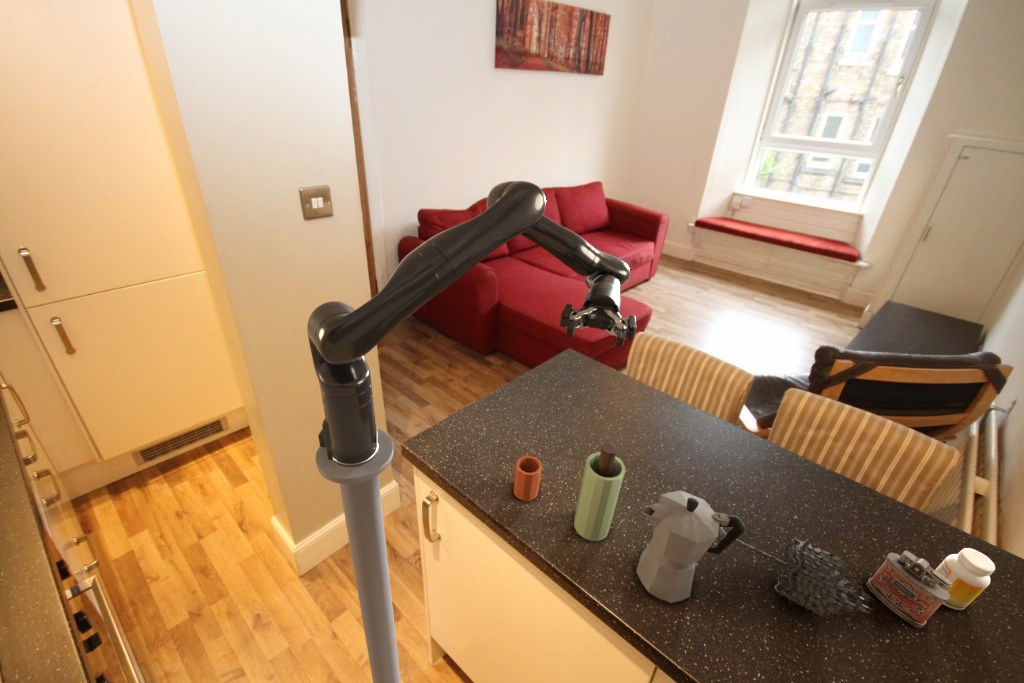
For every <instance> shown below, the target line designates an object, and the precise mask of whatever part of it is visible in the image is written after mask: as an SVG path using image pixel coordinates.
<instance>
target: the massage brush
mask: <svg viewBox="0 0 1024 683" xmlns="http://www.w3.org/2000/svg"><path fill="white" fill-rule="evenodd" d="M727 533H728V532H726V531H725V529H724V527H719V531H718V537H717V538H716V540H720V539H721V538H723V537H724V536H726V534H727ZM792 538H793V542H789V543H787V544H786V546H784V547H785V548H784V555H783V556H782V560H780V559H778V558H777V557H776V556H775V555H770V554H769V553H766V552H764V551H762V550H761V549H758V547H754V546H753V545H750V544H748V543H745V542H743V541H742V540H741V539H739V538H737V539H736V540H735V541H734V542H733V543H736V544H737V545H739V546H740V547H743V548H745V549H748V550H749V551H751V552H754V553H755V554H757V555H759V556H761V557H763V558H764V559H768V560H770V561H773V562H774V563H775V564H776V565H778V566H777V571H776V572H777V575H778V576H777V584H775V585H774V590H775V591H776V592H777V593H778V594H780V595H781V596H783V597H784V598H786V599H788V601H790V602H794V603H795V604H796V605H799V606H801V607H804V608H805V609H806V610H809V611H810V612H811V611H812V613H814V614H816V615H818V616H820V617H821V618H826V619H827V620H828V619H829V617H828V616H829V615H830V614H832V615H834V614H836V615H838V616H839V615H842V614H843V613H844V612H848V613H851V612H853V613H854V614H855V613H856V612H858V611H861V612H862V613H868V614H871V612H870V611H868V610H867V609H870V610H871V611H873V608H872V607H871V608H870V607H869V606H867V605H865V604H863V602H862V601H866V602H867V603H868V602H869V600H870V599H871V600H872V601H875V599H874V598H872V597H871V596H870V595H869V594H867V593H866V592H865V591H864V590H863V586H860V584H859V583H858V582H856V581H855V579H854V575H853V572H851V571H849V569H848V567H849V564H848V563H847V562H845V560H844V559H841V558H840V557H839V556H838V555H836V554H832V553H830V552H829V551H827V550H824V549H821V548H820V547H818V546H814V545H812V544H811V543H809V542H806V541H805V540H802V539H798V538H795V537H792ZM716 540H715V541H716ZM795 545H796V546H795ZM789 549H790V550H789ZM845 565H846V566H845ZM848 574H850V575H851V577H852V578H851V577H850V576H849V575H848ZM850 579H851V580H850ZM779 586H781V587H779ZM778 588H779V589H778ZM860 588H861V589H860ZM847 594H849V595H852V597H853V598H856V599H857V600H855V599H853V598H852V597H849V595H847ZM858 598H859V599H858ZM860 599H861V600H862V601H861V600H860ZM854 602H855V603H854ZM866 608H867V609H866ZM840 610H843V611H841V612H840ZM828 612H829V613H828Z"/></svg>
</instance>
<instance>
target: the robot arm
mask: <svg viewBox="0 0 1024 683" xmlns="http://www.w3.org/2000/svg"><path fill="white" fill-rule="evenodd" d="M546 204H547V200H546V195H545V192H544V191H543V189H542V188H540V186H538V185H537V184H535V183H533V182H530V181H525V180H509V181H503V182H500V183H498V184H496V185H495V186H493V187H492V188H491V189H490V191H489V193H488V195H487V199H486V209H485V210H484V211H483V212H482V213H480V214H479V215H477V216H475V217H473V218H471V219H469V220H467V221H464V222H462V223H459V224H457V225H454V226H452V227H450V228H448V229H445V230H443V231H441V232H439V233H437V234H435V235H433V236H432V237H430V238H428V239H427V240H426V241H424V242H422V243H421V244H420V245H418V246H417V247H416V248H414V249H413V250H411V251H410V252H409V253H408V254H407V255H405V256H404V258H402V260H401V261H400V262H399V264H398V265H397V266H396V268H395V269H394V271H393V273H392V274H391V276H390V277H389V279H388V280H387V282H386V283H385V285H384V286H383V288H382V289H381V290H380V291H379V292H378V293H377V294H376V295H374V296H373V297H372V298H370V299H368V301H366V302H365V303H363V304H362V305H360V306H359V307H357V308H355V309H354V307H352V306H351V305H350V304H348V303H346V302H343V301H338V300H332V301H326V302H323V303H321V304H320V305H318V306H316V308H314V310H312V312H311V313H310V315H309V317H308V319H307V325H306V332H307V338H308V344H309V349H310V353H311V359H312V363H313V364H312V365H313V368H314V372H315V375H316V377H317V381H318V385H319V390H320V394H321V395H320V396H321V400H322V405H323V411H324V412H323V413H324V417H325V418H324V419H323V420H322V423H321V427H322V429H321V430H320V432H319V433H318V435H317V437H318V442H319V447H326V450H327V455H328V460H333V461H334V462H335V463H337V464H338V465H341V466H345V467H355V466H360V465H363V464H365V463H367V462H369V461H370V460H372V459H373V458H374V457H375V456H376V454H377V452H378V441H377V437H378V432H377V433H376V428H377V423H376V415H375V404H374V396H373V394H374V393H373V386H372V376H371V371H370V367H369V365H368V362H367V360H366V357H365V356H366V355H367V354H368V353H370V352H371V351H372V350H373V349H374V348H375V347H376V346H377V345H378V344H380V343H381V342H382V341H383V340H384V339H385V338H387V336H388V335H389V334H390V333H391V332H392V331H393V330H394V329H395V328H397V327H398V326H399V325H400V324H401V323H402V322H404V321H405V320H406V319H407V318H409V317H411V315H413V314H414V313H415V312H417V311H418V310H419V309H420V308H422V307H423V306H425V305H426V304H427V303H428V302H429V301H431V300H432V299H434V298H435V297H436V296H438V295H440V293H443V291H445V290H446V289H447V288H449V287H450V286H452V285H453V284H454V283H455V282H457V281H458V280H459V279H461V278H462V277H463V276H464V275H465V274H466V273H468V272H470V271H471V270H472V269H473V268H474V267H476V266H477V265H479V264H480V263H482V261H484V260H485V259H486V258H487V257H489V256H490V255H491V254H493V252H495V251H496V250H497V249H499V248H501V247H502V246H504V245H505V244H507V243H508V242H510V241H512V240H514V239H515V238H517V237H519V236H520V235H521V236H522V237H524V238H525V239H527V240H530V241H531V242H533V243H534V244H536V245H537V246H539V247H540V248H542V249H543V250H544V251H546V252H548V253H549V254H550V255H552V256H553V257H554V258H556V259H557V260H558V261H560V262H561V263H562V264H564V265H565V266H566V267H567V268H569V269H570V270H571V271H573V272H574V273H576V274H577V275H579V276H580V277H586V279H585V284H586V287H587V289H588V290H587V292H586V294H585V297H584V299H583V300H584V301H583V304H582V307H580V308H579V309H578V308H574V307H573V304H570V303H567V304H566V305H564V308H563V310H562V312H561V313H560V319H559V327H560V328H565V329H566V330H565V335H566V336H568V339H573V338H574V335H575V331H576V330H580V331H581V330H585V329H588V328H590V329H591V328H592V329H598V330H602V331H605V332H607V333H608V335H610V336H614V337H616V338H615V348H620V346H624V344H625V340H626V339H627V340H630V341H634V340H635V335H636V331H637V319H636V318H637V317H636V315H633V314H630V315H629V316H628V317H622V315H621V314H620V310H621V303H622V302H621V301H622V298H621V293H622V286H624V285H625V284H626V283H627V282H628V281H629V280H630V277H631V270H630V267H629V265H628V264H627V263H626V262H625V260H623V259H621V258H620V257H618V256H615V255H613V254H611V253H607V252H604V251H601V250H600V249H598V248H596V247H595V246H593V245H592V244H591V243H589V241H587V240H586V239H585V238H583V237H582V236H580V235H579V234H578V233H576V232H574V231H573V230H571V229H569V228H568V227H565V226H563V225H562V224H559V223H558V222H555V221H554V220H552V219H551V218H549V217H548V216H546V215H544V213H545V211H546V206H547V205H546Z"/></svg>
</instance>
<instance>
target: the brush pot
mask: <svg viewBox="0 0 1024 683" xmlns="http://www.w3.org/2000/svg"><path fill="white" fill-rule="evenodd" d="M542 466H543V465H542V462H541V461H540V460H539V459H538V458H537V457H535V456H533V455H524V456H520V457H519V458H518V459H517V461H516V462H515V471H514V480H513V494H514V496H515V497H516V498H517V499H519V500H521V501H523V502H529V501H532V500H534V499H536V498H537V496H538V494H539V491H540V490H539V489H540V483H541V476H542V469H543V468H542Z"/></svg>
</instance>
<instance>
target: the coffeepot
mask: <svg viewBox="0 0 1024 683" xmlns="http://www.w3.org/2000/svg"><path fill="white" fill-rule="evenodd" d="M641 514H642V515H644V516H645V517H646V518H647V520H648V522H649V523H650V525H651V527H652V529H653V533H652V538H651V539H650V541H649V542H648V544H647V545H646V546H645V548H644V550H643V551H642V553H641V554H640V556H639V560H638V564H637V567H636V571H635V572H636V574H637V576H638V579H639V580H640V583H641V584H642V585H643V587H644V588H645V590H646V591H647V593H649V594H651V595H652V596H654V598H657V599H659V600H662V601H664V602H668V603H670V604H673V603H677V602H681V601H684V600H685V599H689V598H690V597H691V593H692V587H693V581H694V575H695V570H696V564H697V562H699V561H700V560H701V559H702V558H703V556H704V555H705V553H710V554H715V555H720V554H721V553H722V554H723V552H724V551H726V549H727V548H729V547H730V546H731V545H732V544H734V543H735V542H734V541H735V540H736V539H739V538H740V537H741V536H742V535H744V533H745V532H746V530H747V529H746V525H745V523H744V522H743V520H742V519H741V518H740V517H739V516H737V515H734V514H733V515H731V514H730V515H728V514H727V513H725V512H717V511H716V512H715V511H714V509H713V508H712V507H711V506H710V505H709V503H708V502H707V501H706V500H705V499H704V498H701V497H699V496H696V495H694V494H691V493H689V492H686V491H683V490H675V491H671V492H667V493H662V494H660V496H659V499H658V501H657V503H654V504H649V505H645V506H644V507H643V508H642V511H641ZM719 527H723V528H730V529H728V532H726V533H727V534H726V536H724V537H723V538H720V539H719V541H718V543H717V545H715V546H712V545H713V543H715V541H716V538H717V537H718V531H719Z"/></svg>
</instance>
